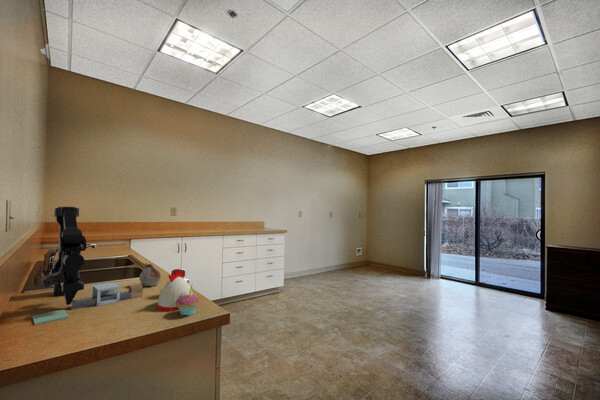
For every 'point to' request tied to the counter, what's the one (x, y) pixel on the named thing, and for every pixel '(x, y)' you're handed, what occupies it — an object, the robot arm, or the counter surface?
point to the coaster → (49, 317)
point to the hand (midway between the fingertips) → (68, 304)
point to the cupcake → (187, 303)
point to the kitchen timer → (173, 291)
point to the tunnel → (106, 292)
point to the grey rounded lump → (150, 275)
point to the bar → (92, 300)
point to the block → (136, 290)
